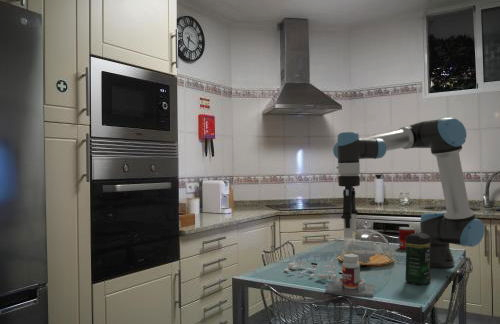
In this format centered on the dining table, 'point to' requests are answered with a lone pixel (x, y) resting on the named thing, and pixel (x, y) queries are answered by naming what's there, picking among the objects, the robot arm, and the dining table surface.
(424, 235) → the coffee jar
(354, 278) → the pill bottle
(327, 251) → the dining table surface
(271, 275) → the dining table surface
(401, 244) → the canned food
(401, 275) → the dining table surface
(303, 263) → the miniature set
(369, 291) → the grey knobbed plate
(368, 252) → the showerhead
